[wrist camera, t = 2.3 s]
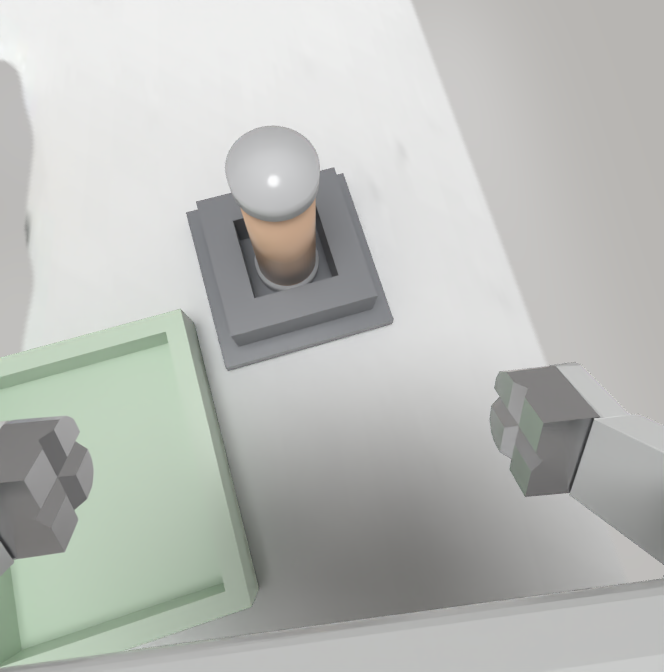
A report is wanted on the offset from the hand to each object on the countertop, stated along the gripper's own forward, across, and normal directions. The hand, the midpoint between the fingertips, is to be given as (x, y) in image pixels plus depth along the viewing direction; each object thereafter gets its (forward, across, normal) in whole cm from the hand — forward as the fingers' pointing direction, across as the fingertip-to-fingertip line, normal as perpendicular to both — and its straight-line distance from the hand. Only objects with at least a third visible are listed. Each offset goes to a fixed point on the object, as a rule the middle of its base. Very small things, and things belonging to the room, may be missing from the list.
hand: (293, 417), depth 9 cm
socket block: (+25, 0, +8) cm, 26 cm away
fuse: (+24, 0, +7) cm, 25 cm away
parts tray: (+15, +13, +17) cm, 27 cm away
